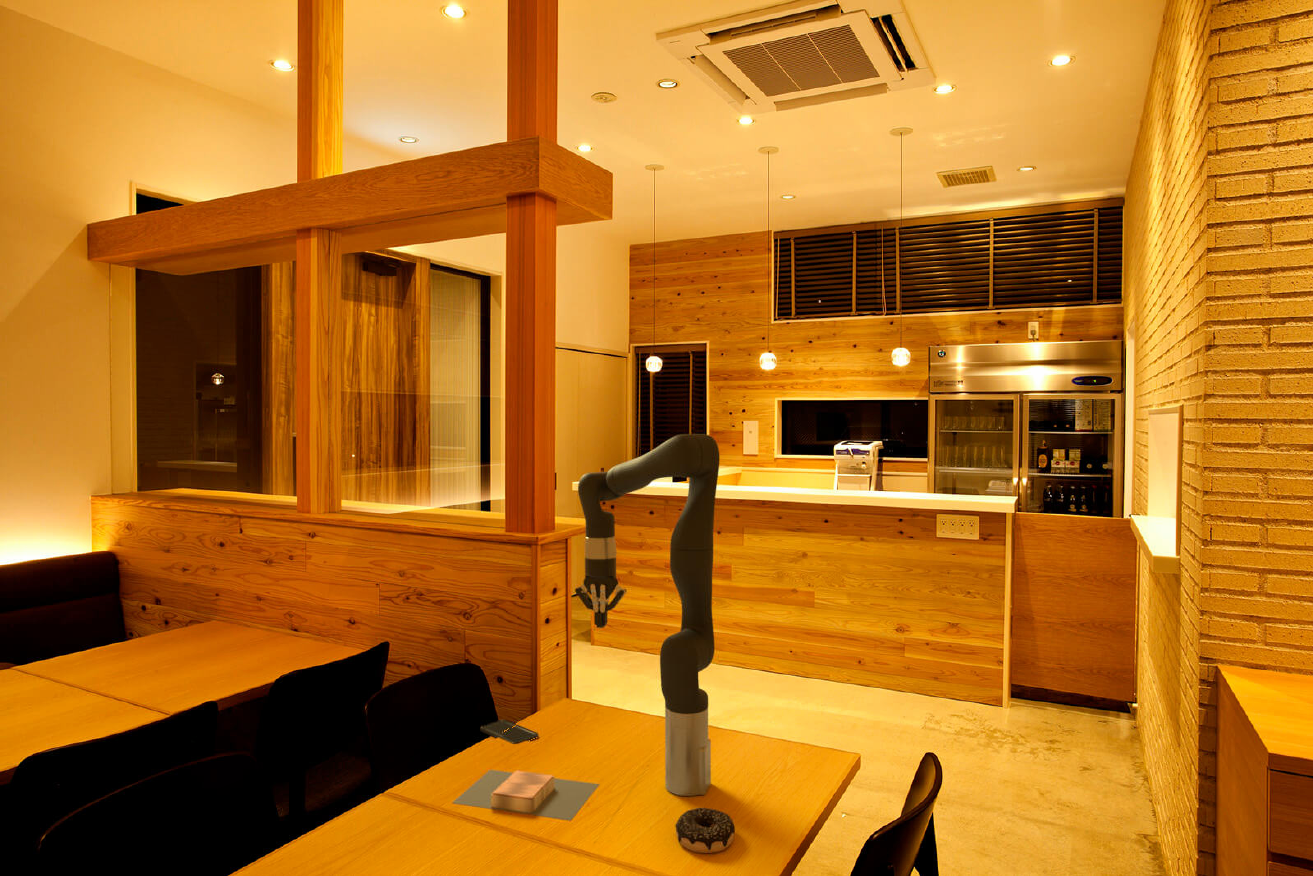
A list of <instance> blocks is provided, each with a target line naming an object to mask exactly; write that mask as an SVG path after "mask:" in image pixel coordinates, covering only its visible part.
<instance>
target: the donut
mask: <svg viewBox="0 0 1313 876" xmlns="http://www.w3.org/2000/svg"><path fill="white" fill-rule="evenodd" d="M674 827H675V834H676V838H677V840H678V843H679V844H680V845H681V846H682V847H684V848H685V849H686V850H689V851H691V852H694V853H699V854H714V853H719V852H721V851H724V850H726V849H727V848H729V846H730V845H731V844H732V842H733V841H734V839H735V832H736V826H735V824H734V821H733V819H732V818H731V816H730V814H728V813H726V812H723V811H720V810H718V809H715V808H714V809H713V808H707V807H696V808H693V809H688V810H686V811H685V812H683V813H682V814H681V816H680V817H679V818H678V820H677V821H676V823H675V825H674Z"/></svg>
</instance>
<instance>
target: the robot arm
mask: <svg viewBox="0 0 1313 876" xmlns="http://www.w3.org/2000/svg"><path fill="white" fill-rule="evenodd" d="M719 470H720V449H719V446H718V443H717V442H716V440H715V439H714V437H713V436H711V435H710V434H705V433H682V434H680V433H679V434H677V435H675V436H673V437H670V438H669V439H667V440H665V441H664V442H663V443H660V445H658V446H657V447H655V448H654V449H652V450H651V451H649V452H646V453H645V454H642V455H641V456H639V457H636V458H633V459H630V460H627V461H624V462H622V463H619V464H616V465H614V466H613V467H611V468H610V469H609V470H608V471H603V472H602V471H601V472H600V471H599V472H587V473H584V474H583V475H582V476H581V477H580V478H579V481H578V485H577V494H578V497H579V500H580V505H581V508H582V512H583V516H584V520H585V542H584V579H583V581H582V582H583V583H582V584H581V585H580V586H578V587H576V588H575V589H574V591H575V593H576V594H577V597H579V599H580V600H581V602H582V604H584V606H585V607H586V608H587V610H591V611H593V612H594V613H593V616H594V617H593V620H594V625H595V626H596V628H597V629H604V628H605V627H606V625H607V624H608V612H609V611H612V610H613V609H614V608H616V607H617V605H618V604H619V603H620V601H621V600H622V599H623V597H624V596H625V595H626V594H627V591H628V590H627V589H626V588H623V587H622V586H620V585H619V581H618V578H617V544H616V536H615V535H616V531H615V530H616V525H615V524H616V523H615V521H616V519H615V515H614V514H613V513H612V512H611V511H606V510H603V509H602V506H601V502H610V501H614V500H617V499H620V498H621V497H624V496H625V495H627V494H629V493H633V492H635V491H639V490H641V489H643V488H646V487H648V485H650V484H651V483H652V482H653V481H655V480H659V479H663V478H664V479H665V478H676V477H677V478H685V479H687V478H688V479H689V480H688V493H687V498H686V501H685V502H686V503H685V505H684V508H683V510H682V512H681V514H680V515H679V518H678V520H677V522H676V524H675V526H674V529H673V531H672V533H671V538H670V543H669V546H670V547H669V548H670V550H669V551H670V553H669V555H670V556H669V569H670V575H671V578H672V579H673V583H674V585H675V588H676V590H677V592H678V594H679V595H678V596H679V598H680V604H681V624H680V631H678V632H676V633H674V634H671V635H669V636H668V637H666V638H665V640H664V641H663V642H662V644H661V647H660V653H659V671H660V673H659V674H660V689H661V694H662V696H663V698H664V701H665V702H664V707H665V708H664V719H665V720H664V721H665V722H664V732H665V733H664V734H665V735H664V736H665V737H664V739H665V741H664V742H665V743H664V744H665V745H664V746H665V747H664V750H665V751H664V752H665V753H664V754H665V755H664V758H665V759H664V760H665V761H664V763H665V764H664V767H665V768H664V769H665V771H664V772H665V775H664V780H665V781H664V782H665V783H664V784H665V789H666V791H668V792H670V793H672V794H674V795H676V796H682V797H693V796H698V795H700V796H701V795H702V796H705V795H706V793H707V791H708V789H709V788H710V785H711V783H712V777H711V775H712V767H711V766H712V764H711V763H712V762H711V761H712V757H711V756H712V755H711V754H712V753H711V751H712V747H711V745H712V744H711V743H712V741H711V738H709V695H708V693H707V691H706V690H705V689H702V688H700V685H699V672H702V671H703V670H705V669H707V668H708V667H709V666H710V665H711V663H712V661H713V659H714V656H715V631H714V624H713V623H714V622H713V568H714V525H715V524H714V523H715V522H714V521H715V504H716V495H717V494H716V493H717V486H718V480H719V479H718V478H719ZM613 593H614V595H615V596H614V597H613V598H612V600H611V601H610V598H611V595H612V594H613ZM589 594H590V595H589Z"/></svg>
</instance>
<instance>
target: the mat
mask: <svg viewBox="0 0 1313 876" xmlns="http://www.w3.org/2000/svg"><path fill="white" fill-rule="evenodd" d="M513 773H514V772H511V771H501V770H494V769H489V770H488V771H487V772H486V773H485V774H483V775H482V776H481V777H480V778H479V779H478V780H476V781H475V782H474V783H473V784H471V786H470V787H468V789H466V790H465V791H464V792H463V793H462V794H460V795H459V796H458V797H457V798H455V800H453V801H452V802H451V804H456V805H462V806H469V807H475V808H483V809H490V810H495V811H503V812H510V813H517V814H523V815H529V816H530V815H531V816H537V817H544V818H549V819H550V818H551V819H557V820H565V821H570V822H571V821H572V820H573V818H574V817H575V816H576V815H577V814H578V813H579V811H580V810H581V809H582V807H583V806H584V805H585V803H586V802H587V801H588V799H590V797H591V796H592V795H593V794H594V792H595V791H596V790H597V789H598V787H599V786H600V783H593V782H586V781H579V780H570V779H563V778H556V777H555V788H554V789H553V791H552V792H551V793H550V794H549V795H548V796H547V797H546V798H545V799H544V800H543V802H542V803H541V804H540V805H539V806H538V807H537V808H536V809H535V810H534V811H533V813H529V812H522V811H515V810H508V809H502V808H495V807H491V794H492V793H493V792H494V791H495V790H496V789H497V788H498V787H499V786H500V785H501V784H502V783H503V782H505V781H506V780H507V779H508V778H509V777H510V776H511V775H512V774H513Z"/></svg>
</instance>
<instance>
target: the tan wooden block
mask: <svg viewBox="0 0 1313 876" xmlns="http://www.w3.org/2000/svg"><path fill="white" fill-rule="evenodd" d="M512 773H513V774H512V775H511V776H510V777H509V778H508V779H507V780H506V781H505V782H503V783H502V784H501V785H500V786H499V787H498V788H497V789H496V790H495V791H494V792H493V793H492V794H491V807H495V808H502V809H508V810H515V811H522V812H529V813H533V811H534V810H535V809H536V808H537V807H538V806H539V805H540V804H541V803H542V802H543V800H544V799H545V798H546V797H547V796H548V795H549V794H550V793H551V792H552V791H553V789H554V788H555V778H556V777H555V776H554V775H552V774H547V773H546V774H545V773H544V774H543V773H538V772H530V771H529V772H528V771H521V770H515V771H514V772H512Z"/></svg>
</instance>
